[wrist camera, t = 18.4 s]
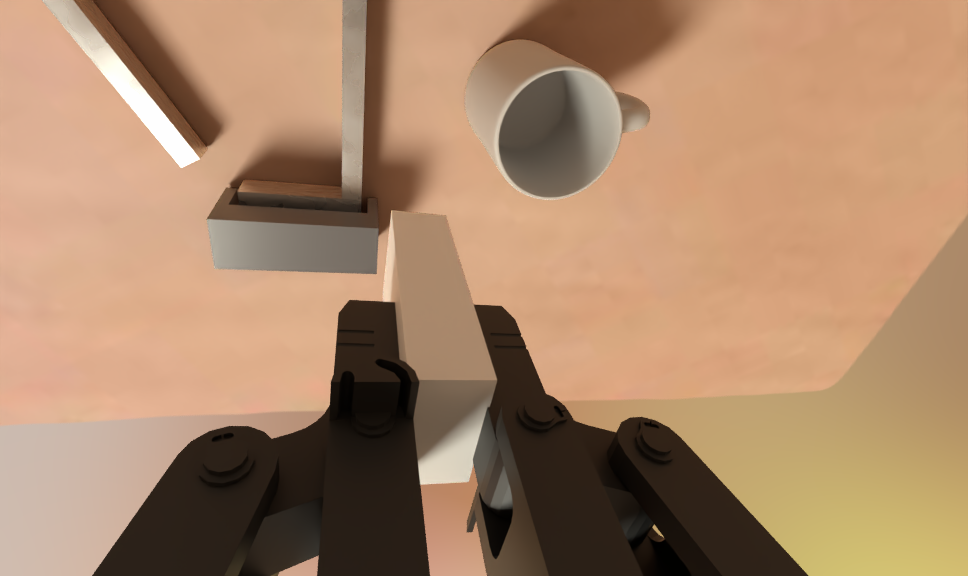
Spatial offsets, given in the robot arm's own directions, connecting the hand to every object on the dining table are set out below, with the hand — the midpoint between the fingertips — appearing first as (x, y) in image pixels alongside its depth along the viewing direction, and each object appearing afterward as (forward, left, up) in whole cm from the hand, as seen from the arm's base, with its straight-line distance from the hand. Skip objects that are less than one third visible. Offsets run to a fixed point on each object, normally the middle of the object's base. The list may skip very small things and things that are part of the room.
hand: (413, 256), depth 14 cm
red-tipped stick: (0, -18, -27) cm, 32 cm away
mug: (0, +12, -28) cm, 30 cm away
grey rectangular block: (+12, -6, -27) cm, 30 cm away
